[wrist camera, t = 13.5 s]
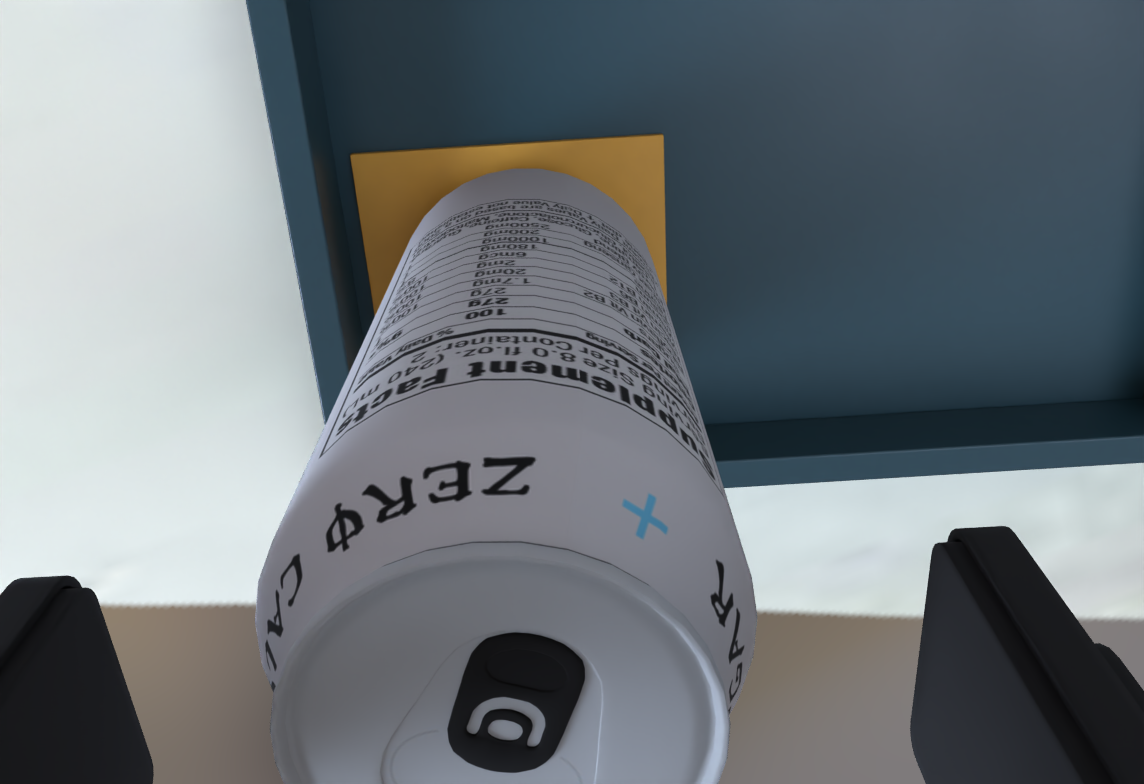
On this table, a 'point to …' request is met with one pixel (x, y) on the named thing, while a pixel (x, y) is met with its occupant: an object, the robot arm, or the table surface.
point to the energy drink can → (510, 522)
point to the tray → (787, 203)
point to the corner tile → (424, 176)
